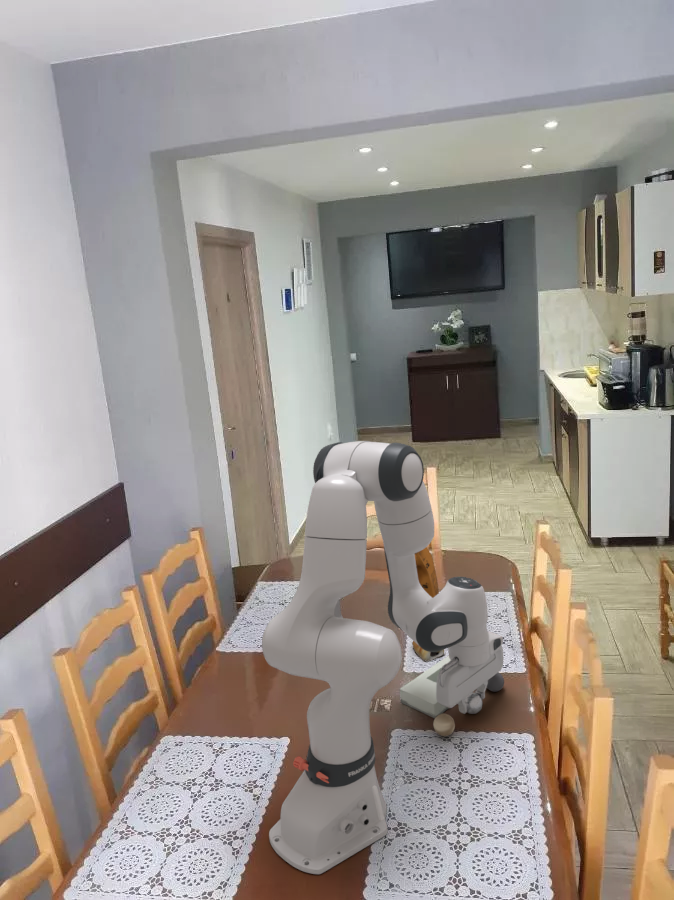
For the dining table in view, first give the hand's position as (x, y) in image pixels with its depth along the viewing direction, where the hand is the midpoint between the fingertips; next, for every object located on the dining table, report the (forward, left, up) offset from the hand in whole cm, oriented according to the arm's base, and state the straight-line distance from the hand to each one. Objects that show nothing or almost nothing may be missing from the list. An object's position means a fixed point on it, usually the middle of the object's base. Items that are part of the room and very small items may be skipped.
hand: (472, 705), depth 159 cm
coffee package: (+29, +38, -2) cm, 48 cm away
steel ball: (0, 0, 0) cm, 0 cm away
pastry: (+14, +24, -2) cm, 28 cm away
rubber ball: (+10, +1, 0) cm, 10 cm away
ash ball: (-10, 0, 0) cm, 10 cm away
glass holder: (+9, +57, -2) cm, 58 cm away
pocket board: (+3, +10, -2) cm, 11 cm away
